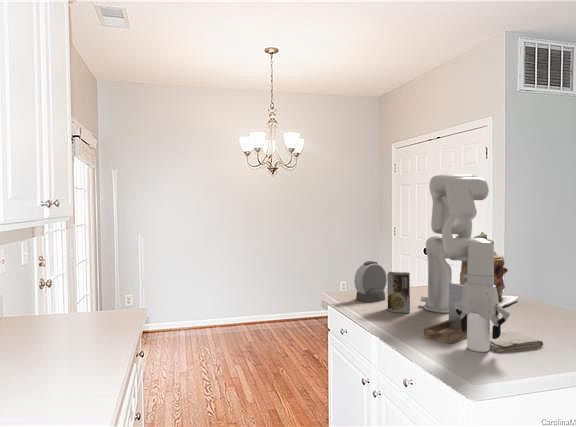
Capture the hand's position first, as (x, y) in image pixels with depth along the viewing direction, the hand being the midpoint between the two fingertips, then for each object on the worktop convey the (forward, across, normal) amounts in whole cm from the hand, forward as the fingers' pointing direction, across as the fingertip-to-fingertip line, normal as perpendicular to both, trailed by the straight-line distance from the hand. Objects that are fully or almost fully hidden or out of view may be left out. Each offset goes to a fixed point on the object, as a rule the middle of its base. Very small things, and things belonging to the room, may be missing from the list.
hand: (480, 334), depth 129 cm
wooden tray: (+4, -13, +6) cm, 15 cm away
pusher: (+4, -13, +11) cm, 18 cm away
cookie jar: (+4, -30, +64) cm, 71 cm away
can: (+5, 0, 0) cm, 5 cm away
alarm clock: (+4, -65, +26) cm, 70 cm away
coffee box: (+4, -44, +19) cm, 48 cm away
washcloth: (+5, +3, +11) cm, 13 cm away
